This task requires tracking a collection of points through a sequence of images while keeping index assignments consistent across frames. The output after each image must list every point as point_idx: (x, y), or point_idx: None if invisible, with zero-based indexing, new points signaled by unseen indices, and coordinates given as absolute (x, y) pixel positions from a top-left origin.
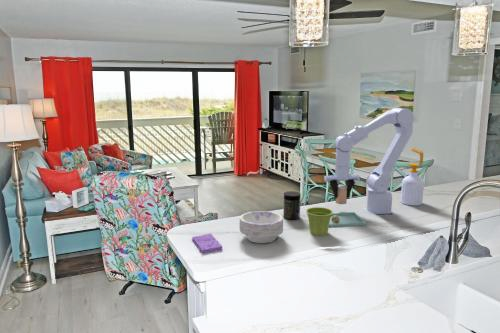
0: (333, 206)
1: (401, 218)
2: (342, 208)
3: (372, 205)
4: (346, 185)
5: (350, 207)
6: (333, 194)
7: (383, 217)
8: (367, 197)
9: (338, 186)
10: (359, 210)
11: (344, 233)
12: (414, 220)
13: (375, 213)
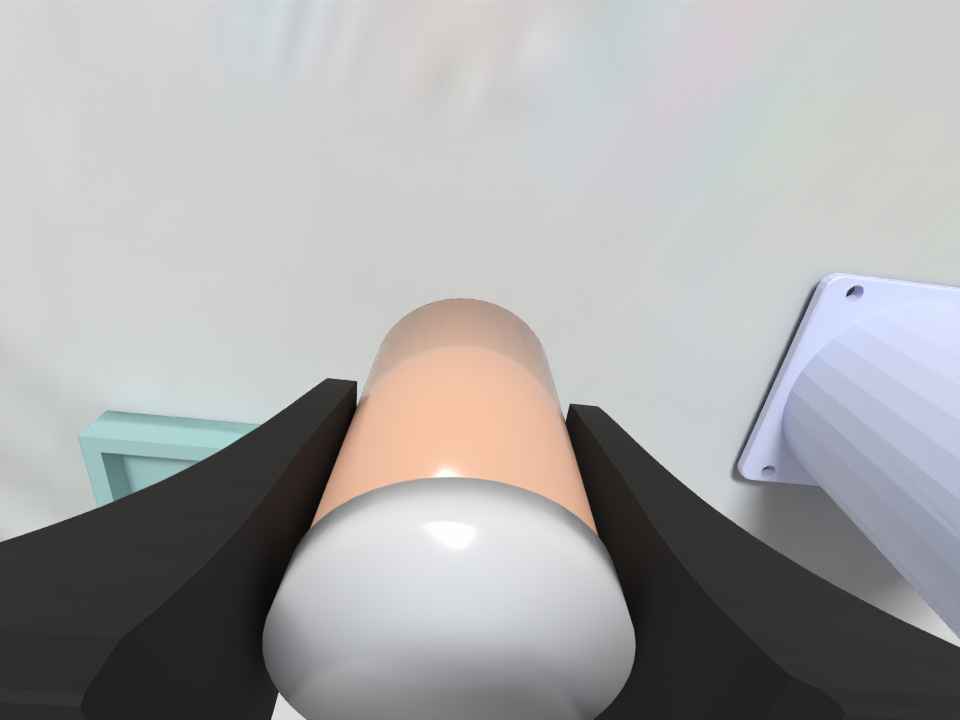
0: (482, 33)
1: (908, 587)
2: (569, 179)
3: (840, 504)
4: (627, 658)
5: (708, 166)
6: (300, 398)
7: (789, 543)
8: (942, 462)
9: (320, 686)
10: (731, 316)
11: (286, 707)
12: (953, 634)
13: (790, 482)
